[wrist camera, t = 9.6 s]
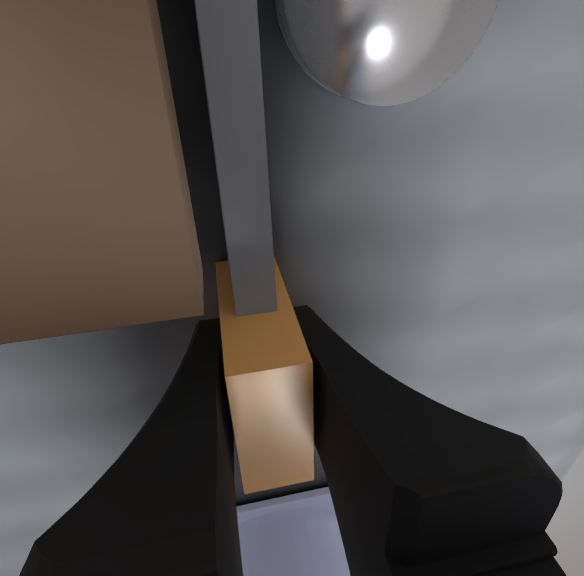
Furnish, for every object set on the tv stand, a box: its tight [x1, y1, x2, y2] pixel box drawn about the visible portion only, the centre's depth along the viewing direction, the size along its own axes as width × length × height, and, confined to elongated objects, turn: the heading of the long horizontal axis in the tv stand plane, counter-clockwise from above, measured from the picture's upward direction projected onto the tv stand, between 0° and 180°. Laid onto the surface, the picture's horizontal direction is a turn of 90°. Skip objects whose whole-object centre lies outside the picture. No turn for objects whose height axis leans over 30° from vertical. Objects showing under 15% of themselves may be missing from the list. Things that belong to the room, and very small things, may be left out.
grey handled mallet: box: [194, 0, 314, 495], centre depth 9 cm, size 14×2×5 cm, turn 2°
